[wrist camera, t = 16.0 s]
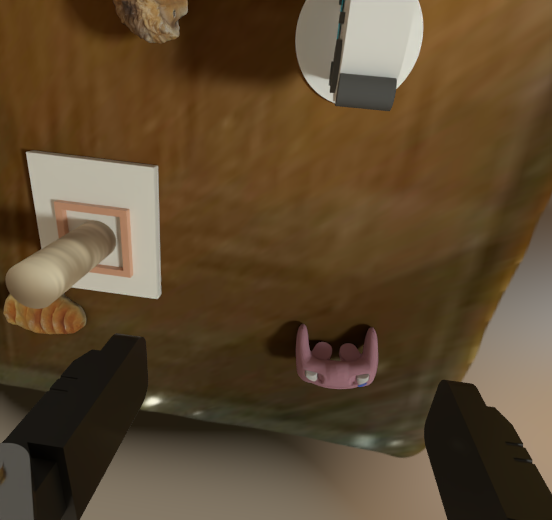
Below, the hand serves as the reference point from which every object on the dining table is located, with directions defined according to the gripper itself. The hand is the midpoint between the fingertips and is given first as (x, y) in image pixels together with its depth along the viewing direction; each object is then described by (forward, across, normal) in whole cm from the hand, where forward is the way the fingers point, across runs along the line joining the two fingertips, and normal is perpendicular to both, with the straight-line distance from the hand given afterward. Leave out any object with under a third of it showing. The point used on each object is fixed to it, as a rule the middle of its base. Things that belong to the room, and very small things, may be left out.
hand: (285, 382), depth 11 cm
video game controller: (+33, -6, +22) cm, 40 cm away
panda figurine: (+33, -3, -12) cm, 35 cm away
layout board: (+33, +23, +10) cm, 41 cm away
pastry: (+33, +31, +22) cm, 51 cm away
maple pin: (+31, +23, +11) cm, 41 cm away
